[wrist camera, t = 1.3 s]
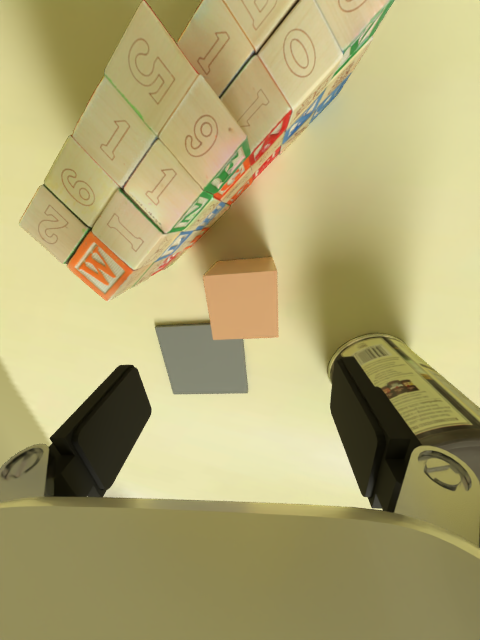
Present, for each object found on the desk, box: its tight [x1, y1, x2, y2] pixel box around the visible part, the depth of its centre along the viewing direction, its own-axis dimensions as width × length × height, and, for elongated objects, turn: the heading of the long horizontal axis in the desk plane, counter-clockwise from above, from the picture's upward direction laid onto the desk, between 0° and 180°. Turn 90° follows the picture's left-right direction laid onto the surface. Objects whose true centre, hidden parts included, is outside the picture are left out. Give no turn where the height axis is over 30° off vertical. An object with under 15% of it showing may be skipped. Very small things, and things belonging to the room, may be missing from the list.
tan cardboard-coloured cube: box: [203, 257, 278, 340], centre depth 22 cm, size 6×6×7 cm
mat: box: [155, 323, 248, 394], centre depth 30 cm, size 11×11×1 cm
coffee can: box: [328, 334, 480, 484], centre depth 22 cm, size 10×10×14 cm
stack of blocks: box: [19, 0, 394, 301], centre depth 15 cm, size 21×6×12 cm, turn 132°
